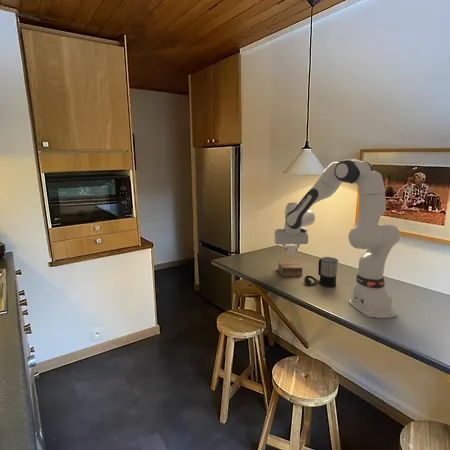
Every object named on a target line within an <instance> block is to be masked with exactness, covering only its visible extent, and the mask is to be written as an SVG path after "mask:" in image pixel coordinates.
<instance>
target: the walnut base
mask: <svg viewBox="0 0 450 450" xmlns="http://www.w3.org/2000/svg"><path fill="white" fill-rule="evenodd" d="M277 266H278V267H277V269H279V270H278V272H279V273H280V274H282V275H281V276H282V277H302V276H303V266H302V265H301V264H300V263H299V262H298V261H278V265H277Z"/></svg>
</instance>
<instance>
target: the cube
mask: <svg viewBox="0 0 450 450" xmlns="http://www.w3.org/2000/svg"><path fill="white" fill-rule="evenodd" d="M296 246H297V245H296V244H285V248H287V251H285V253H286V255H287V256H291V255H293V256H295V255H296V254H297V251H296Z"/></svg>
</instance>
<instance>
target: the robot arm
mask: <svg viewBox="0 0 450 450" xmlns="http://www.w3.org/2000/svg"><path fill="white" fill-rule="evenodd" d="M342 183H348V184H351V185H352V184H355V185H356V186H357V188H358V198H359V200H358V201H359V208H358V211H359V213H358V217H357V221H356V222H355V225H354V226H353V228H352V229H350V231H349V233H348V241H349V242H348V243H349V244H350V245H351V246H352V247H353V248H354V249H358V250H359V249H360V250H366V251H365V252H364V253H363V254H362V255H361V256H360V257H359V259H358V270H357V273H356V277H355V278H356V281H355V284H354V285H353V286H352V290H351V298H350V299H348V300H347V301H348V304H349V305H351V306H352V307H354V308H355V309H357V310H358V311H359V312H360V313H362V314H363V315H364V316H366V317H369V318H374V317H375V319H376V318H377V319H389V318H391V319H392V318H394V317H395V318H396V317H397V316H398V315H397V312H396V311H395V310H394V308H393V307H392V301H393V297H392V296H389V294H388V290H387V289H386V287H385V285H386V282H385V276H384V272H385V265H386V260H387V258H388V256H389V254H390V252H391V250H392V248H394V246H395V245H396V244H398V243H399V241H400V238H401V233H400V230H399V228H398V227H397V226H396V225H393V224H388V223H380V224H379V221H380V219H381V217H382V216H383V215H384V214H385V213H386V209H387V207H386V206H387V205H386V203H387V202H386V191H385V190H386V189H385V184H384V179H383V175H382V174H381V173H380V172H378V171H375V169H374V166H373V165H372V164H371V163H369V161H368V162H367V161H365V160H363V161H362V160H359V159H344V160H341V161H339V162H338V161H333V162H331V163H330V164H329V165H328V166H327V167H326V168H325V169H324V170H323V172H322V174H320V176H319V177H318V179H317V180H316V182H315V183H314V184H313V186H312V187H311V188H310V189H309V190H308V191H307V193H306V194H305V195H304V196H303V197H302V199H301V200H300V201H299V202H297V201H296V202H289V203H287V204H286V206H285V211H284V219H285V221H284V228H277V229H276V230H275V229H274V242H273V243H275V245H282V247H283V251H284V252H286V251H287V248H286V245H290V244H294V245H295V246H296V252H298V249H299V247H300V245H307V244H308V243H309V234H308V229H307V228H305V227H308V226H311V225H313V224H314V222H315V217H316V216H315V213H314V211H313V210H311V209H310V208H311V207H312V206H313V205H315V204H316V203H318V202H320V201H323V200H325V199H328V198H330V197H332V196H333V195H334V194H335V193H336V192H337V190H338V189H339V188H340V187H341V185H342Z"/></svg>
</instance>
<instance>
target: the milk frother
mask: <svg viewBox="0 0 450 450" xmlns="http://www.w3.org/2000/svg"><path fill="white" fill-rule="evenodd" d="M338 262H339V259H338V258H336V257H332V256H331V257H330V256H323V257H321V258H320V259H318V268H317V269H318V270H317V271H318V272H317V273H318V276H319V280H318V279H317V278H316V277H314V276H312V275H306V276H305V277H304V278H303V281H304V283H305V284H306V285H308V286H316V285H317V283H318V284H319V286H321V287H324V288H331V289H332V288H335V287H336V286H337V274H338V273H337V272H338ZM312 281H314V282H313V283H312Z"/></svg>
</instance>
